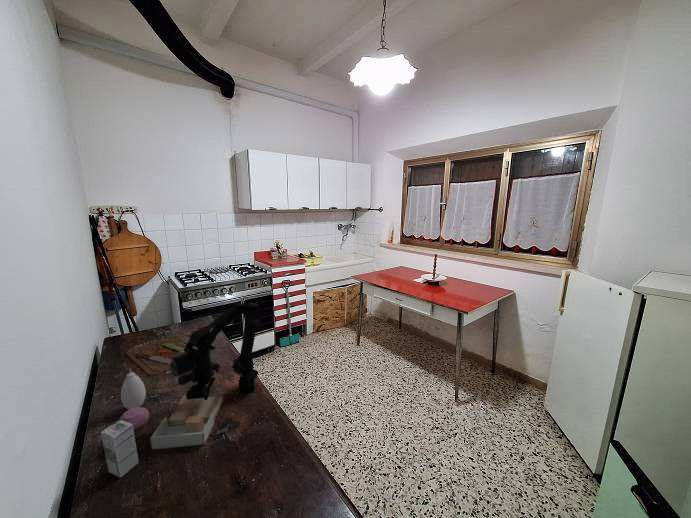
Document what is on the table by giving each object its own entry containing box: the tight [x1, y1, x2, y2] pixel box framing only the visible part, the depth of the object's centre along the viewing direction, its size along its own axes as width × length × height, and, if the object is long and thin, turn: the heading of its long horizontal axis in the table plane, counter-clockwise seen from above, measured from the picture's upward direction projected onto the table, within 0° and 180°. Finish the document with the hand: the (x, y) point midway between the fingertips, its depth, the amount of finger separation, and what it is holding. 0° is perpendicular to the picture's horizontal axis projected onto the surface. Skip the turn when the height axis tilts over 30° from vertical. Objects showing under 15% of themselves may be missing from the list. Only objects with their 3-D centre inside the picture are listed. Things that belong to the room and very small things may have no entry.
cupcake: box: [118, 407, 150, 440], centre depth 96 cm, size 9×9×10 cm
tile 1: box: [177, 394, 197, 411], centre depth 108 cm, size 5×5×3 cm
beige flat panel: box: [167, 395, 224, 426], centre depth 108 cm, size 16×12×2 cm
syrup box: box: [100, 420, 139, 478], centre depth 84 cm, size 6×6×14 cm
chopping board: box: [125, 335, 197, 377], centre depth 153 cm, size 45×27×3 cm, turn 54°
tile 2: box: [185, 416, 204, 433], centre depth 98 cm, size 5×5×3 cm
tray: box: [149, 413, 215, 451], centre depth 97 cm, size 17×10×4 cm, turn 97°
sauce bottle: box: [120, 368, 147, 410], centre depth 109 cm, size 8×8×18 cm
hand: (206, 399), depth 107 cm, fingers closed
